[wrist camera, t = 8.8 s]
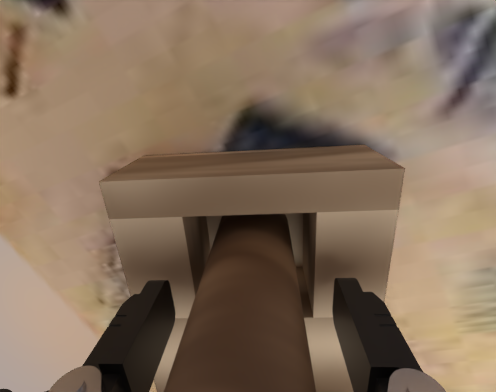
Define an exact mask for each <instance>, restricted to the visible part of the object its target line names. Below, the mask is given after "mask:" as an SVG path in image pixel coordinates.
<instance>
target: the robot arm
mask: <svg viewBox="0 0 496 392" xmlns="http://www.w3.org/2000/svg"><path fill="white" fill-rule="evenodd" d="M332 313H333V322H334V326H335V330H336V333H337V337H338V340H339V343H340V347H341V350H342V354H343V357H344V360H345V364H346V367H347V371H348V374H349V378H350V381H351V384H352V388H353V391H354V392H446V391H445V389H444V388H443V387H442V386H441V385H440V384H439V383H438V382H437V381H436V380H434V379H433V378H432V377H430V376H429V375H427V374H425V373H423V371H422V369H421V368H420V366H419V364H418V363H417V361H416V359H415V357H414V355H413V354H412V352H411V350H410V348H409V346H408V345H407V343H406V341H405V339H404V337H403V336H402V334H401V332H400V330H399V328H398V327H397V326H396V323H395V321H394V319H393V318H392V317H391V314H390V312H389V310H388V309H387V307H386V305H385V303H384V302H383V301H382V300H381V299H380V298H379V297H378V296H377V295H375V294H374V293H373V292H363V290H362V288H361V286H360V284H359V282H358V280H357V279H356V278H335V280H334V292H333V307H332ZM174 323H175V306H174V301H173V297H172V292H171V287H170V283H169V281H168V280H149V281H147V283H146V284H145V286H144V288H143V289H142V291H141V293H140V294H134V295H132V296H131V297H130V298H129V299H128V300H127V301H125V302H124V303H123V304H122V306H121V307H120V309H119V310H118V312H117V313H116V315H115V317H114V318H113V320H112V321H111V323H110V324H109V327H107V329H106V330H105V332H104V333H103V335H102V337H101V338H100V340H99V341H98V343H97V345H96V346H95V347H94V349H93V351H92V352H91V354H90V355H89V357H88V358H87V360H86V361H85V363H84V364H83V366H82V367H78V368H76V369H74V370H71V371H70V372H68V373H66V374H65V375H64V376H62V377H61V378H60V379H59V380H58V381H57V382H56V383H55V384H54V385H53V386H52V387H51V389H50V390H49V391H46V392H149V390H150V388H151V385H152V382H153V380H154V377H155V374H156V372H157V369H158V366H159V364H160V361H161V358H162V356H163V353H164V350H165V348H166V345H167V343H168V340H169V337H170V335H171V332H172V329H173V326H174ZM0 392H12V391H10V390H8V389H0Z"/></svg>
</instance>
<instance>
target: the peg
mask: <svg viewBox="0 0 496 392" xmlns="http://www.w3.org/2000/svg"><path fill="white" fill-rule="evenodd" d="M164 392H316V387H315V381H314V375H313V369H312V363H311V357H310V351H309V345H308V339H307V333H306V327H305V321H304V315H303V309H302V303H301V297H300V291H299V285H298V279H297V273H296V267H295V261H294V255H293V249H292V243H291V237H290V231H289V225H288V220H287V217H286V215H285V213H284V214H254V215H223V216H222V218H221V221H220V224H219V227H218V230H217V233H216V236H215V239H214V242H213V245H212V248H211V251H210V254H209V257H208V260H207V263H206V266H205V269H204V272H203V275H202V278H201V281H200V284H199V287H198V290H197V293H196V296H195V299H194V302H193V305H192V308H191V311H190V314H189V317H188V320H187V323H186V326H185V329H184V332H183V335H182V338H181V341H180V344H179V347H178V350H177V353H176V356H175V359H174V362H173V365H172V368H171V371H170V374H169V377H168V380H167V383H166V386H165V389H164Z"/></svg>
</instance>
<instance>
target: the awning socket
mask: <svg viewBox="0 0 496 392" xmlns="http://www.w3.org/2000/svg"><path fill="white" fill-rule="evenodd" d="M404 172H405V168H403V167H402V166H400V165H398V164H396V163H395V162H393V161H391V160H390V159H388V158H386V157H384V156H383V155H381V154H379V153H378V152H376V151H374V150H372V149H371V148H369V147H367V146H366V145H348V146H328V147H308V148H288V149H269V150H249V151H229V152H209V153H189V154H169V155H149V156H143V157H141V158H139V159H137V160H136V161H134V162H132V163H130V164H129V165H127V166H125V167H124V168H122V169H120V170H118V171H117V172H115V173H113V174H111V175H110V176H108V177H106V178H105V179H103V180H101V181H99V185H100V188H101V192H102V195H103V199H104V202H105V206H106V210H107V213H108V217H109V220H110V224H111V228H112V231H113V235H114V238H115V242H116V245H117V249H118V253H119V256H120V260H121V263H122V267H123V271H124V274H125V278H126V281H127V285H128V288H129V292H130V296H132V295H134V294H140V293H141V291H142V289H143V288H144V286H145V284H146V283H147V281H149V280H168V281H169V283H170V287H171V292H172V297H173V301H174V306H175V323H174V326H173V329H172V332H171V335H170V337H169V340H168V343H167V345H166V348H165V350H164V353H163V356H162V358H161V361H160V364H159V366H158V369H157V372H156V374H155V377H154V382H155V385H156V389H157V392H164V389H165V386H166V383H167V380H168V377H169V374H170V371H171V368H172V365H173V362H174V359H175V356H176V353H177V350H178V347H179V344H180V341H181V338H182V335H183V332H184V329H185V326H186V323H187V320H188V317H189V314H190V311H191V308H192V305H193V302H194V299H195V296H196V293H197V290H198V287H199V284H200V281H201V278H202V275H203V272H204V269H205V266H206V263H207V260H208V257H209V254H210V251H211V248H212V245H213V242H214V239H215V236H216V233H217V230H218V227H219V224H220V221H221V218H222V216H223V215H254V214H284V213H285V215H286V217H287V220H288V225H289V231H290V237H291V243H292V249H293V255H294V261H295V267H296V273H297V279H298V285H299V291H300V297H301V303H302V309H303V315H304V321H305V327H306V333H307V339H308V345H309V351H310V357H311V363H312V369H313V375H314V381H315V387H316V392H354V391H353V388H352V384H351V381H350V378H349V374H348V371H347V367H346V364H345V360H344V357H343V354H342V350H341V347H340V343H339V340H338V337H337V333H336V330H335V326H334V322H333V313H332V307H333V292H334V280H335V278H356V279H357V280H358V282H359V284H360V286H361V288H362V290H363V292H373V293H374V294H375V295H377V296H378V297H379V298H380V299H381V300H382V301H383V302H384V300H385V294H386V288H387V281H388V275H389V268H390V262H391V255H392V249H393V242H394V236H395V230H396V223H397V217H398V210H399V204H400V197H401V191H402V184H403V178H404Z"/></svg>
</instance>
